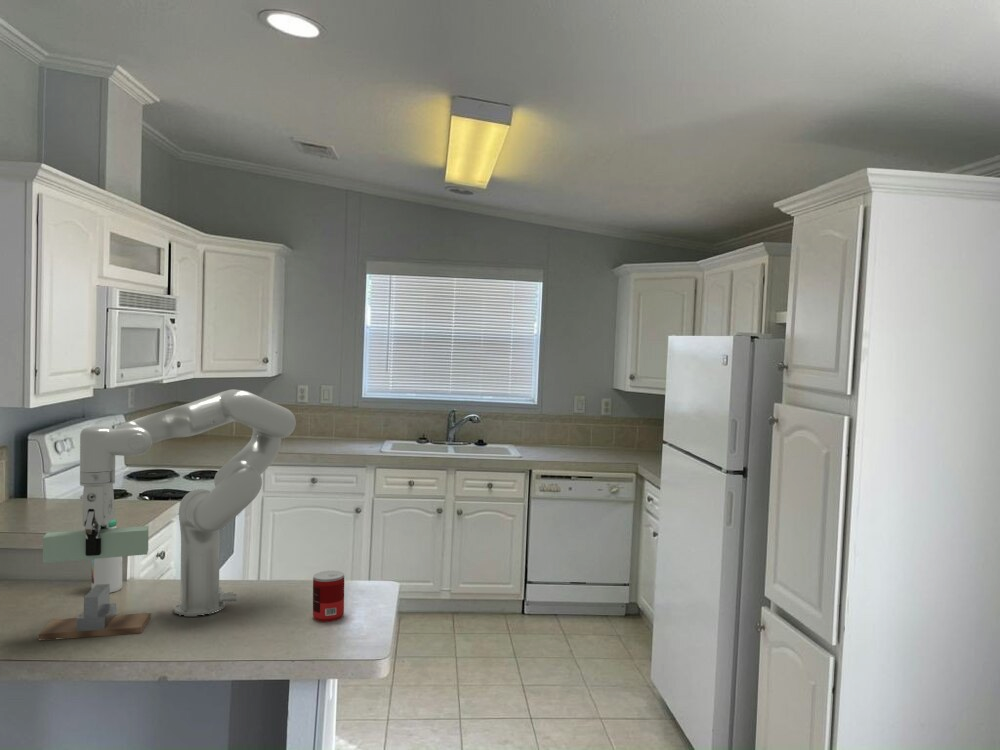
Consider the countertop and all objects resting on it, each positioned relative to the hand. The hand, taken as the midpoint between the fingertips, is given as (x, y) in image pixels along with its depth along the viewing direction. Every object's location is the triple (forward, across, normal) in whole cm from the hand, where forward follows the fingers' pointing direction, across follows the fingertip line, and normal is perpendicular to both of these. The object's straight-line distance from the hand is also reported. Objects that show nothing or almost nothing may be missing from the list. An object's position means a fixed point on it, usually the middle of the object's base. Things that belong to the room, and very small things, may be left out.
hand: (97, 551), depth 175 cm
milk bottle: (+19, +32, +6) cm, 38 cm away
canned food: (+19, -3, -55) cm, 58 cm away
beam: (+1, 0, 0) cm, 1 cm away
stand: (+19, 0, 0) cm, 19 cm away
